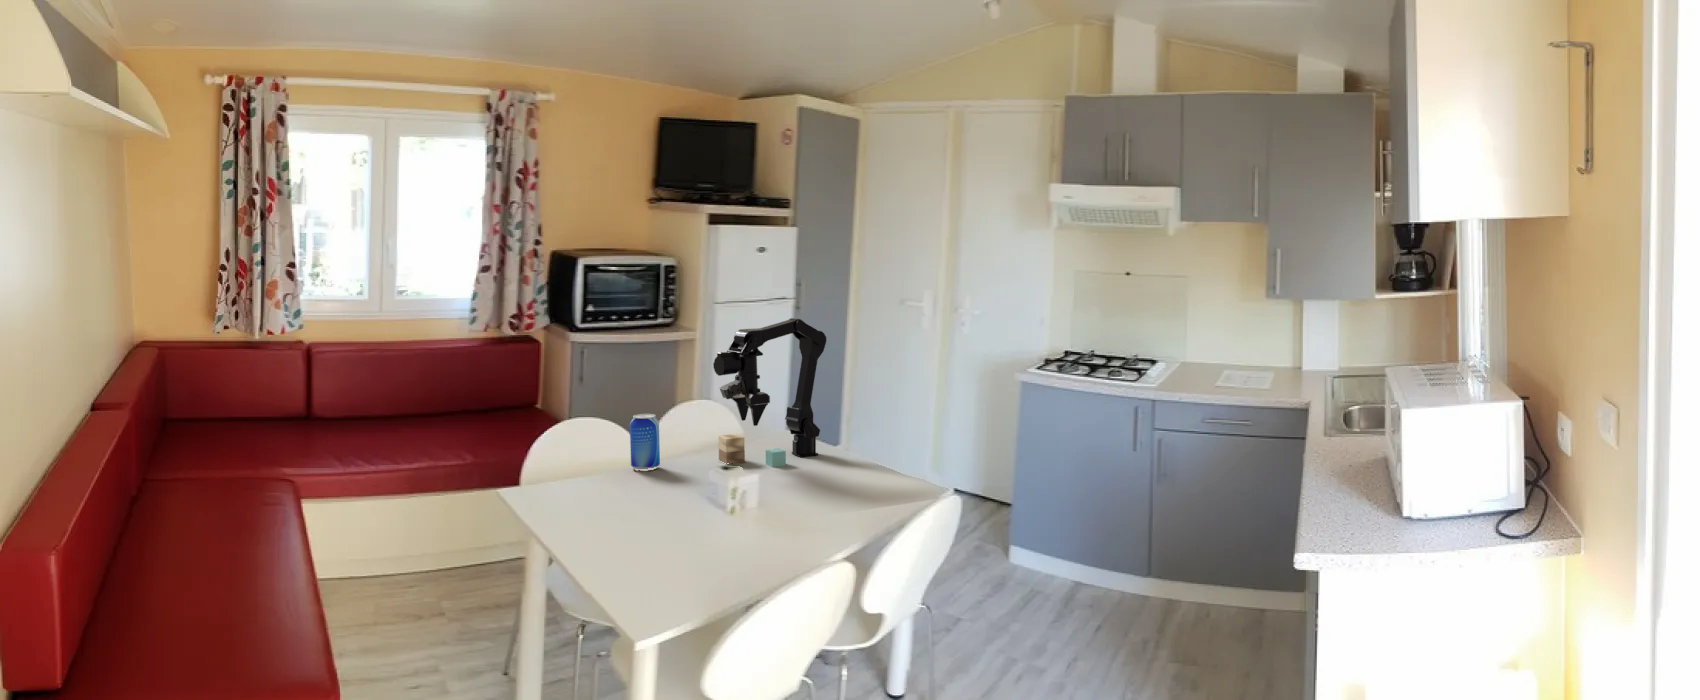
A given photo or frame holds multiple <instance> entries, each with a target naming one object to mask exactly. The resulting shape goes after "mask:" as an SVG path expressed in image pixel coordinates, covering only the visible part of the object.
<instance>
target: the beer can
mask: <svg viewBox="0 0 1700 700" xmlns="http://www.w3.org/2000/svg"><path fill="white" fill-rule="evenodd" d="M656 416H657V415H656V414H654V413H639V414H633V416H632V417H633V418H632V419H631V421H630V422H629V435H630V436H629V439H630V441H629V442H630V443H629V444H630V466H631V467H632V470H634V469H648V468H654V467H657V466H658V467H659V466H660V464H661V461H660V460H661V458H660V457H661V456H660V453H661V452H660V451H661V449H660V422H659V420H658V419H657V417H656Z"/></svg>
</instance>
